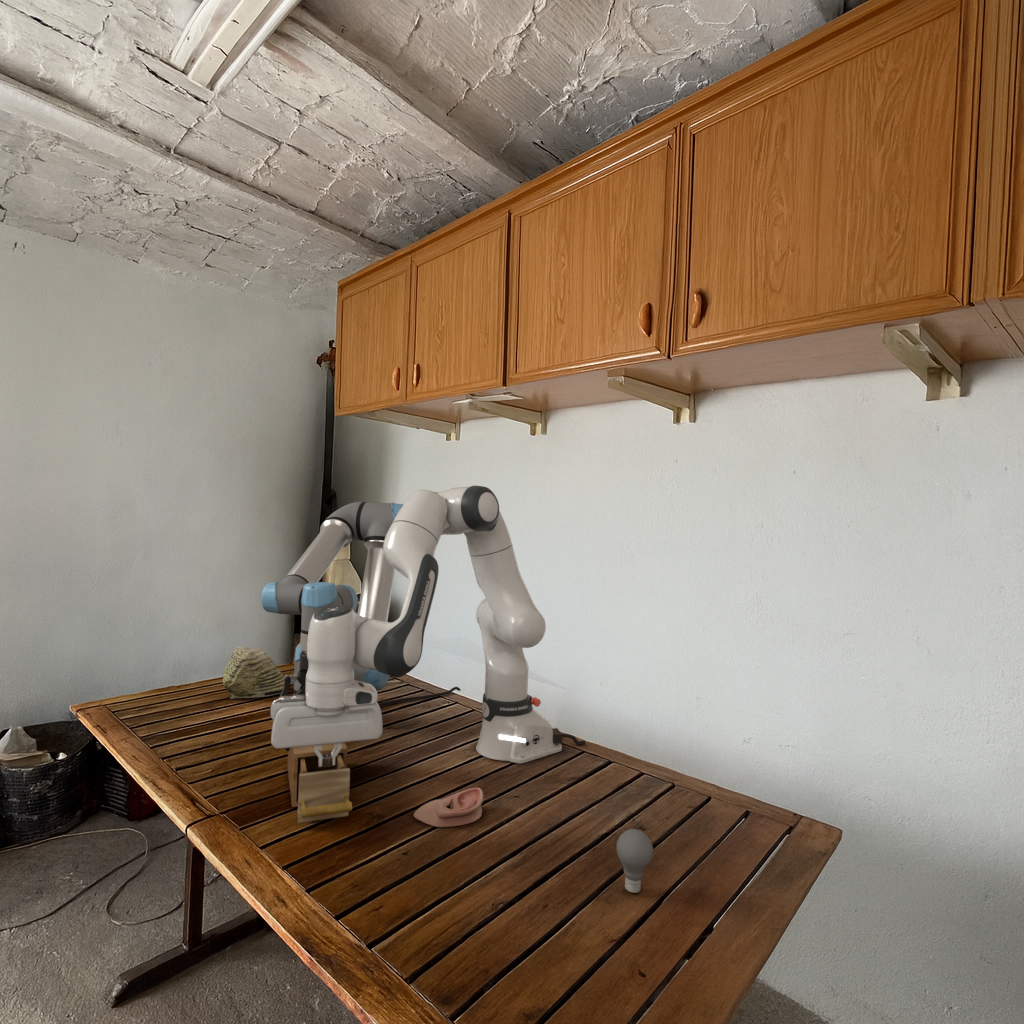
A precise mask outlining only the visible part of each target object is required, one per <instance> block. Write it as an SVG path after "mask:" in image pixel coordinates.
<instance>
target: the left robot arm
mask: <svg viewBox="0 0 1024 1024" xmlns="http://www.w3.org/2000/svg"><path fill="white" fill-rule="evenodd" d="M403 505H404V503H395V502H375V501H373V502H371V501H354V502H351V503H348V504H346V505H343V506H341V507H339V508H338V509H336V510H335V511H333V512H332V513H330V514H329V516H327V517H326V518H325V519H324V521H323V522H322V523H321V525H320V527H319V533H318V534H317V536H316V537H315V538H314V540H313V541H312V542H311V544H309V546H308V547H307V549H306V550H305V551H304V553H303V554H302V555H301V556H300V558H299V559H298V560H297V561H296V563H295V564H294V565H293V566H292V568H290V570H289V571H288V573H287V574H286V576H285V577H284V578H283V579H282V580H281V581H280V582H279V581H275V582H268V583H266V585H264V586H263V589H262V591H261V595H260V602H261V604H262V605H261V607H262V608H263V610H264V611H265V612H267V613H273V614H279V615H295V616H301V619H300V620H301V623H300V624H301V626H300V641H299V643H298V644H297V645H296V647H295V652H294V653H295V654H294V659H293V661H294V672H293V674H289V673H286V674H285V675H284V677H285V680H284V686H283V689H282V692H281V693H280V694H279V697H278V699H279V698H280V697H281V696H289V693H290V690H291V686H293V695H302V694H305V687H306V674H307V671H308V666H309V664H308V659H307V640H308V631H309V626H310V622H311V619H312V616H313V614H314V613H315V612H316V611H317V610H319V609H321V608H323V607H326V606H333V605H345V606H349V607H351V608H352V609H353V611H355V609H356V607H357V604H358V607H357V608H358V609H357V612H356V614H358V615H360V616H363V617H366V618H370V619H375V620H379V621H385V622H388V620H389V613H390V606H391V600H392V593H393V586H394V580H395V575H396V569H394V568H393V567H392V566H391V564H390V563H389V562H388V561H387V559H386V557H385V554H384V550H383V544H384V540H385V537H386V534H387V532H388V530H389V528H390V526H391V525H392V523H393V521H394V519H395V517H396V515H397V514H398V512H399V510H400V509H401V507H402V506H403ZM355 541H363V545H364V547H365V549H367V555H366V561H365V568H364V572H363V578H362V584H361V590H360V595H359V602H358V594H357V592H356V590H355V589H354V588H353V587H352V586H350V585H348V584H337V585H336V584H335V583H333V582H327V581H320V580H321V579H322V577H323V576H324V575H325V573H326V572H327V570H328V569H329V567H330V566H331V564H332V563H333V562H334V560H335V559H336V557H337V556H338V554H339V553H340V552H341V550H342V549H343V548H346V547H347V546H349V545H350V543H351V542H355ZM353 671H354V680H357V681H361V682H365V683H369V684H371V685H372V686H373V687H374V688H375V689H376V691H377V692H378V691H381V690H382V689H384V687H385V686H386V685H387V684H388V682H389V680H390V678H391V676H389V675H387V674H384V673H381V672H379V671H375V670H371V669H366V668H362V667H359V666H357V667H354V669H353ZM455 690H457V692H461V691H462V690H461V688H460V687H458V686H453V687H452V688H450V689H449V690H447V691H443V692H438V693H431V694H426V695H419V696H418V695H417V696H410V697H403V698H398V699H391V700H387V701H382V702H377V703H378V705H379V707H381V706H385V705H390V704H396V703H402V702H408V701H409V702H410V701H415V700H423V699H429V698H436V697H440V696H445V695H449V694H451V693H453V692H454V691H455ZM304 701H305V700H304ZM277 702H279V701H277ZM288 751H290V748H285V752H288Z"/></svg>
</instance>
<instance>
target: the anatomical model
mask: <svg viewBox="0 0 1024 1024" xmlns="http://www.w3.org/2000/svg"><path fill="white" fill-rule="evenodd" d="M483 802H484V792H483V790H482V788H480V787H471V788H467V789H464V790H461V791H458V792H456V793H454V794H451V795H449V796H446V797H444V798H441V799H440V798H439V799H434V800H430V801H429V802H427V803H424V804H423V805H421V806H419V808H418V809H417V810H415V811H414V813H413V817H414V818H415V819H416V820H417V821H419V822H422V823H424V824H426V825H428V826H432V827H434V828H435V827H436V828H449V827H450V828H451V827H457V826H464V825H467V824H471V823H474V822H475V821H477V820H479V819H480V818H481V817H482V814H483V809H482V805H483Z"/></svg>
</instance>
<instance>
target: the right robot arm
mask: <svg viewBox="0 0 1024 1024" xmlns="http://www.w3.org/2000/svg"><path fill="white" fill-rule="evenodd" d="M403 504H404V505H403V506H402V507H401V509H400V510H399V512H398V514H397V515H396V517H395V519H394V521H393V523H392V525H391V526H390V528H389V530H388V532H387V534H386V537H385V540H384V544H383V550H384V554H385V557H386V559H387V561H388V562H389V563H390V564H391V566H392V567H393V568H394V569H395V571H397V572H398V573H399V574H401V575H402V576H403V577H405V578H407V579H408V588H407V591H406V595H405V599H404V602H403V604H402V609H401V612H400V615H399V617H398V618H397V619H396V620H394V621H391V622H389V621H387V622H385V621H379V620H375V619H370V618H366V617H363V616H360V615H358V614H357V612H355V610H353V609H352V608H351V607H349V606H345V605H333V606H326V607H323V608H321V609H319V610H317V611H316V612H315V613H314V614H313V616H312V619H311V622H310V626H309V631H308V640H307V659H308V664H309V666H308V671H307V674H306V687H305V694H302V695H294V694H293V695H287V696H281V697H280V696H279V697H280V698H279V697H278V698H276V699H274V700H273V702H271V704H270V711H269V715H270V718H271V720H272V725H271V733H270V734H271V735H270V744H271V746H272V747H273V748H274V749H276V750H280V749H286V748H290V747H300V746H310V745H313V748H314V751H315V753H316V755H317V756H318V758H319V767H325V766H335V757H336V756H337V755H338V753H339V751H340V750H341V748H342V742H345V743H349V742H350V743H351V742H359V741H360V742H361V741H369V740H378V739H379V738H380V737H381V736H382V734H383V731H384V730H383V728H384V726H383V724H384V723H383V714H382V709H381V706H379V705H378V703H379V702H378V699H379V694H378V691H376V689H375V688H374V687H373V686H372V685H371V684H369V683H365V682H361V681H357V680H354V671H353V669H354V667H357V666H359V667H362V668H366V669H371V670H375V671H379V672H381V673H384V674H387V675H389V676H390V677H393V678H401V677H404V676H405V675H407V674H409V673H410V672H411V671H412V670H414V669H415V668H416V666H417V665H418V664H419V662H420V660H421V658H422V654H423V647H424V636H425V632H426V628H427V623H428V619H429V616H430V611H431V608H432V604H433V600H434V595H435V592H436V588H437V585H438V579H439V573H440V572H439V563H438V560H437V559H436V558H435V552H436V549H437V546H438V544H439V542H440V539H441V536H443V535H447V536H455V535H456V536H458V535H464V536H465V538H466V544H467V549H468V553H469V557H470V561H471V563H472V568H473V572H474V576H475V580H476V583H477V586H478V587H479V588H480V590H481V592H482V593H483V595H484V597H485V598H484V599H482V600H481V601H480V602H479V604H478V605H477V608H476V611H475V619H476V622H477V623H478V626H479V629H480V636H481V642H482V647H483V653H484V661H485V675H484V677H485V678H484V693H483V694H482V706H481V713H482V714H481V715H482V722H481V727H480V732H479V737H478V740H477V743H476V746H475V750H476V752H477V753H478V754H479V755H481V756H483V757H485V758H487V759H490V760H495V761H504V762H511V763H515V764H522V765H523V764H525V763H529V762H532V761H535V760H537V759H541V758H544V757H547V756H550V755H553V754H556V753H560V752H562V751H563V745H562V743H563V738H567V739H571V740H572V741H573V742H574V744H575V745H578V746H582V745H586V740H578V739H577V737H576V736H574V735H573V734H569V733H562V732H561V731H560V730H559V728H557V727H555V728H554V727H553V726H552V724H551V723H550V721H548V719H546V718H545V717H544V716H543V715H542V714H541V713H539V712H537V710H535V709H534V707H535V708H538V707H540V705H541V704H542V701H541V699H540V698H538V697H536V696H534V697H533V696H532V695H530V694H528V692H529V671H530V670H529V668H530V667H529V663H528V660H527V659H526V656H525V653H524V649H530V648H533V647H535V646H537V645H538V644H540V643H541V641H542V640H543V639H544V636H545V634H546V628H547V625H546V624H547V623H546V621H545V617H544V616H543V614H542V613H541V612H540V611H539V610H538V608H537V606H536V604H535V603H534V601H533V598H532V595H531V594H530V592H529V590H528V588H527V586H526V584H525V582H524V579H523V576H522V575H521V572H520V569H519V565H518V561H517V557H516V554H515V550H514V549H515V548H514V545H513V542H512V538H511V535H510V532H509V529H508V527H507V524H506V522H505V519H504V517H503V515H502V513H501V511H500V504H499V500H498V498H497V496H496V495H495V493H494V491H492V489H490V488H489V487H487V486H483V485H471V486H457V487H452V488H449V489H445V490H442V491H439V492H438V491H434V490H430V489H418V490H416V491H414V492H413V493H412V494H411V495H409V497H408V498H407V499H406V500H405V502H404V503H403ZM304 700H305V701H304ZM278 701H279V702H278ZM533 706H534V707H533ZM331 743H333V745H334V749H333V751H332V752H331V754H323V755H322V753H321V751H320V750H321V749H322V744H331Z"/></svg>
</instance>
